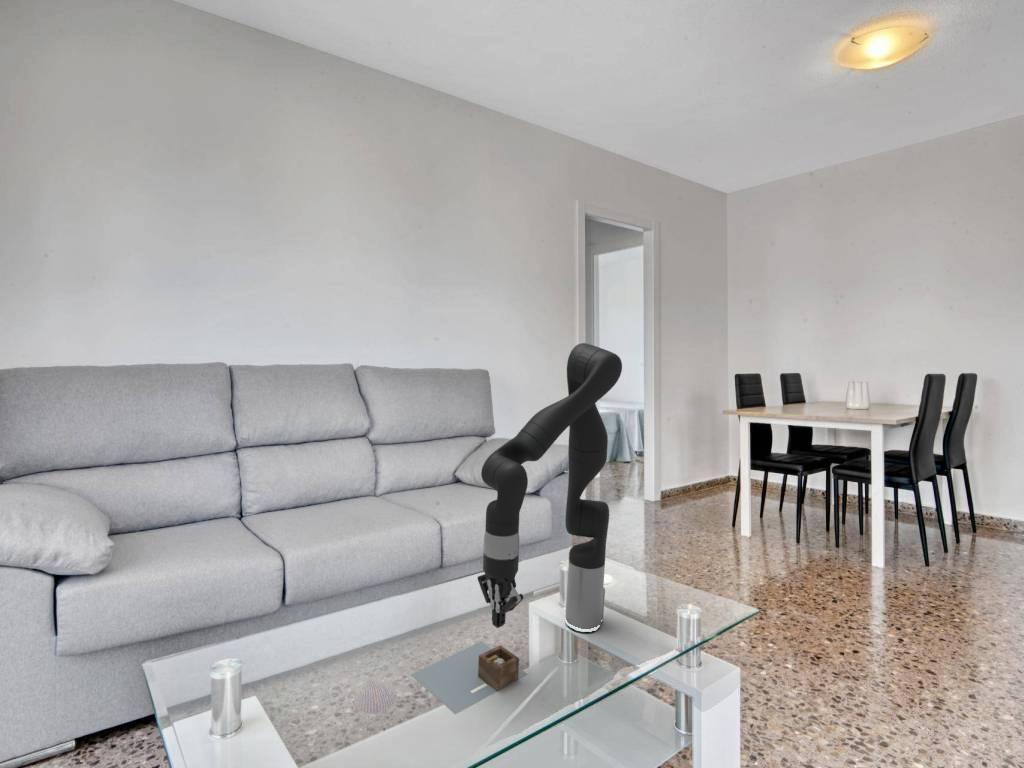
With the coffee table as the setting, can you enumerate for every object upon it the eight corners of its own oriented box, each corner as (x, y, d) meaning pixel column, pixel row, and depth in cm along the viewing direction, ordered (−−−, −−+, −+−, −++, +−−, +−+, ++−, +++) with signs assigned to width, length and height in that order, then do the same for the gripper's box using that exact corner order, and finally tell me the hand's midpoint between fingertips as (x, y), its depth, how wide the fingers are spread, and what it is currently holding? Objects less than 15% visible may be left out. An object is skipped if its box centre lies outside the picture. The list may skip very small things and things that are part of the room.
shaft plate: (481, 646, 142) (481, 625, 141) (527, 678, 131) (528, 657, 130) (410, 679, 129) (410, 657, 128) (455, 719, 117) (455, 695, 116)
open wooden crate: (499, 665, 133) (500, 642, 132) (518, 679, 128) (519, 655, 128) (478, 676, 129) (478, 653, 128) (496, 691, 124) (497, 666, 123)
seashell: (390, 669, 128) (406, 686, 119) (391, 695, 127) (407, 714, 119) (343, 681, 122) (356, 700, 114) (344, 708, 122) (356, 729, 113)
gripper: (468, 543, 127) (465, 617, 130) (508, 566, 117) (505, 646, 120) (494, 535, 132) (492, 606, 135) (535, 556, 122) (532, 633, 125)
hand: (498, 625), depth 127 cm, fingers closed
